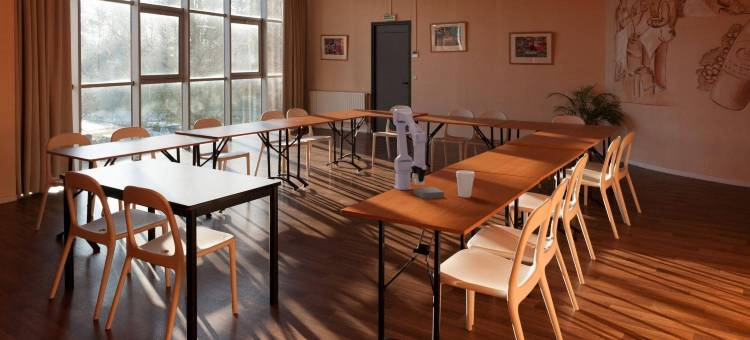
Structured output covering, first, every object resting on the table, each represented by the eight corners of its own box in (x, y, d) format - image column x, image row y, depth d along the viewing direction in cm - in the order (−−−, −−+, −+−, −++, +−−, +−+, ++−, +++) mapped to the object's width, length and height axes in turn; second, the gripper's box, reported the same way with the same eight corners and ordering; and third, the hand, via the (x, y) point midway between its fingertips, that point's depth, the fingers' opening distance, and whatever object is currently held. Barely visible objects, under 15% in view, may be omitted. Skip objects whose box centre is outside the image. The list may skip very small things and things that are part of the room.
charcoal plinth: (413, 194, 356) (413, 188, 355) (434, 192, 360) (434, 187, 359) (422, 198, 344) (423, 193, 344) (443, 197, 349) (443, 191, 348)
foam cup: (459, 198, 346) (460, 174, 344) (452, 194, 355) (453, 170, 353) (476, 197, 349) (477, 173, 347) (469, 193, 358) (470, 170, 355)
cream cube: (412, 182, 350) (412, 173, 349) (420, 182, 352) (421, 173, 351) (415, 184, 346) (416, 175, 345) (424, 184, 347) (424, 174, 346)
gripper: (407, 153, 352) (406, 178, 354) (417, 157, 338) (417, 183, 341) (419, 152, 354) (418, 177, 356) (430, 157, 340) (429, 183, 343)
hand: (418, 180), depth 349 cm, fingers closed on cream cube, 5 cm apart
